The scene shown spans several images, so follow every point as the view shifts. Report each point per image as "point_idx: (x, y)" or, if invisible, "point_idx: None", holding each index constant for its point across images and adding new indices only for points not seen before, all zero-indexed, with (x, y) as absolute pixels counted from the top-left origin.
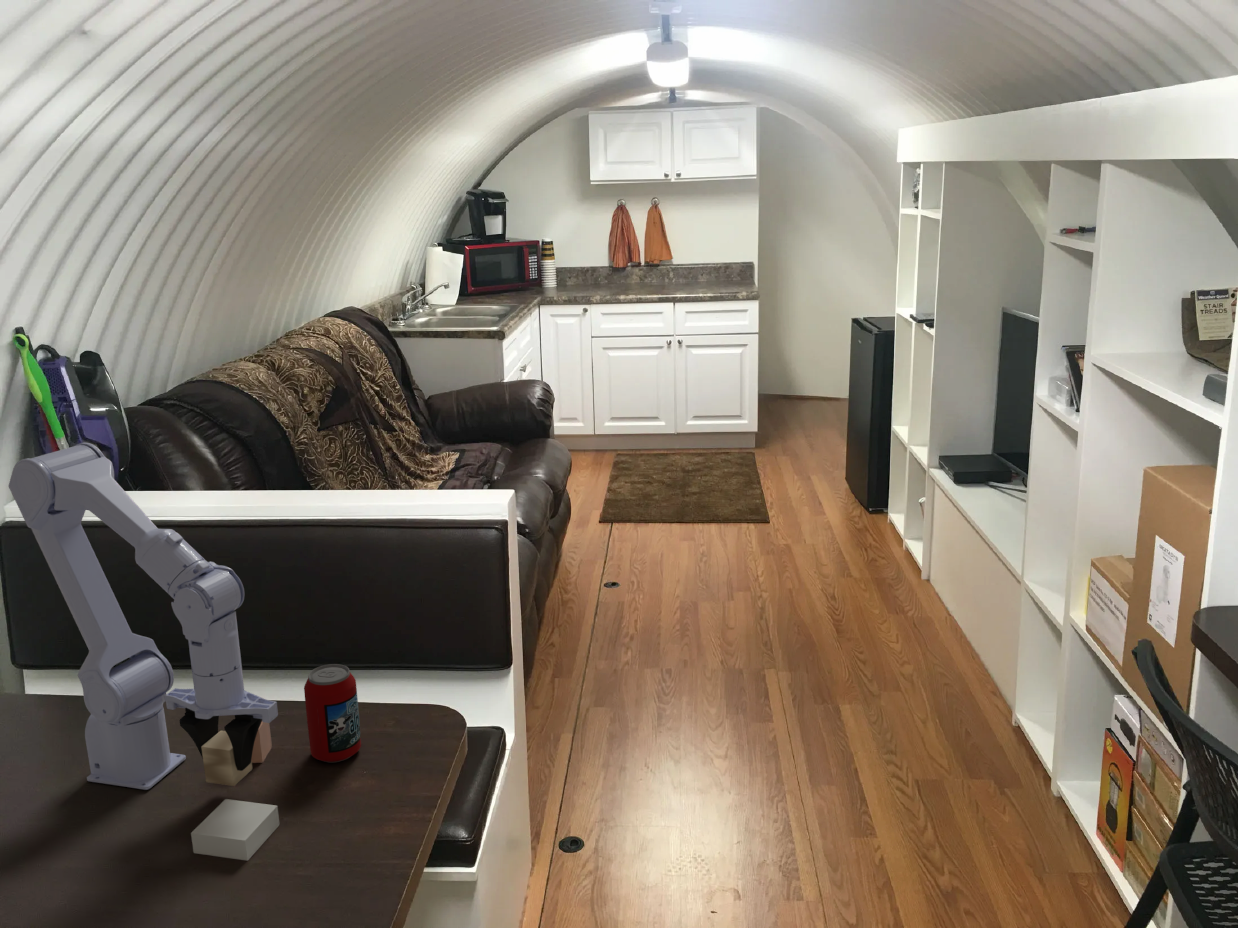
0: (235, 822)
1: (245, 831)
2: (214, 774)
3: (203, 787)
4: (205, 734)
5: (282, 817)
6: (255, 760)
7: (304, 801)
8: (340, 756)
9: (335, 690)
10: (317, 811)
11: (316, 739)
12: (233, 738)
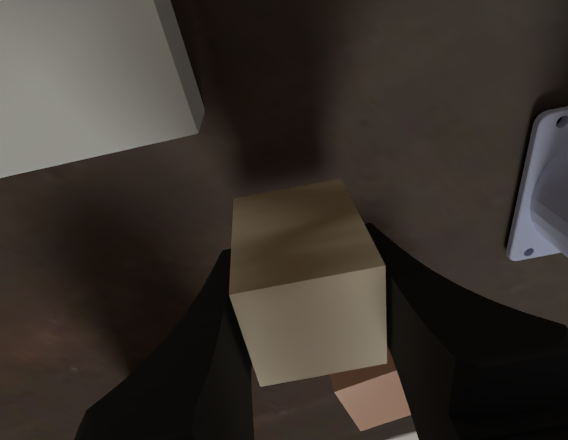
0: (10, 22)
1: None
2: (308, 201)
3: (384, 189)
4: (403, 326)
5: (62, 178)
6: None
7: (83, 251)
8: None
9: None
10: (8, 235)
11: None
12: (184, 360)
